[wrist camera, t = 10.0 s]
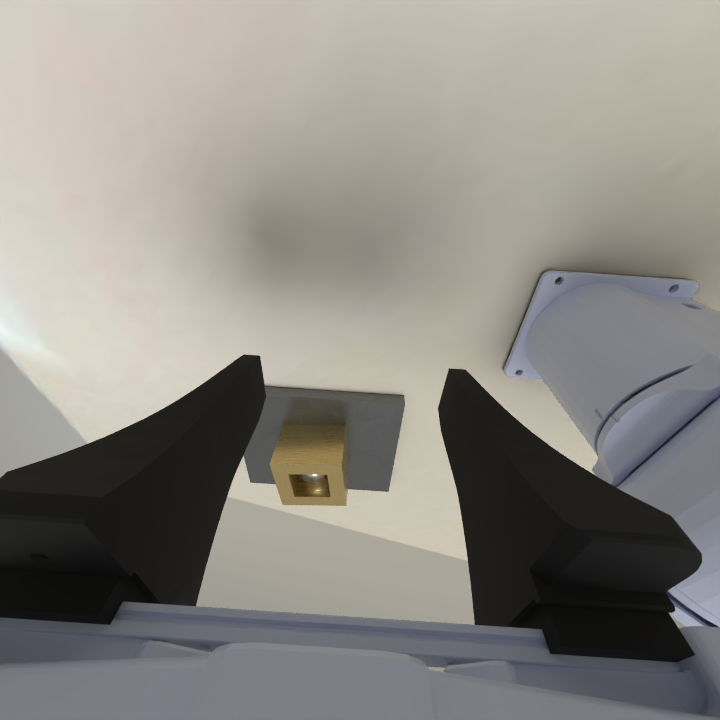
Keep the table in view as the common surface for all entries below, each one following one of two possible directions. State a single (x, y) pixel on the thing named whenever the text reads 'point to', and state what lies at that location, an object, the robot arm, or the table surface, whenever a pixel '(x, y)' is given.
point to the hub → (311, 464)
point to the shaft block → (321, 407)
